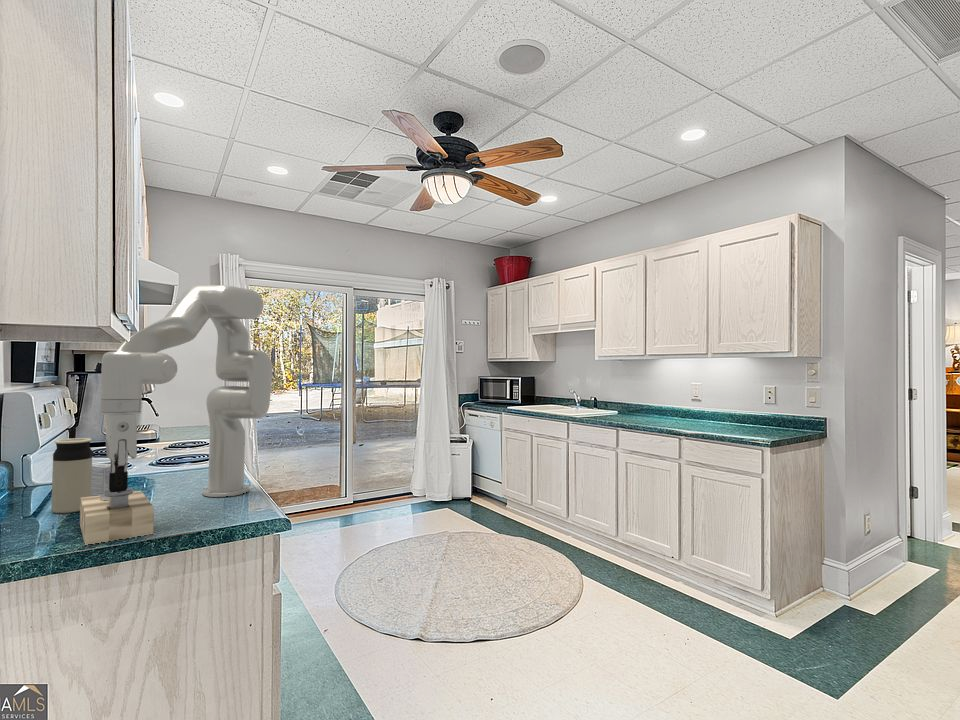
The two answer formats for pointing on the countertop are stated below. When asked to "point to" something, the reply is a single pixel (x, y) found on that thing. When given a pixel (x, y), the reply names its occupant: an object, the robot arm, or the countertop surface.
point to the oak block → (115, 519)
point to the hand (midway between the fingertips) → (118, 490)
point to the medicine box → (100, 478)
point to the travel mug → (71, 474)
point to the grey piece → (118, 498)
